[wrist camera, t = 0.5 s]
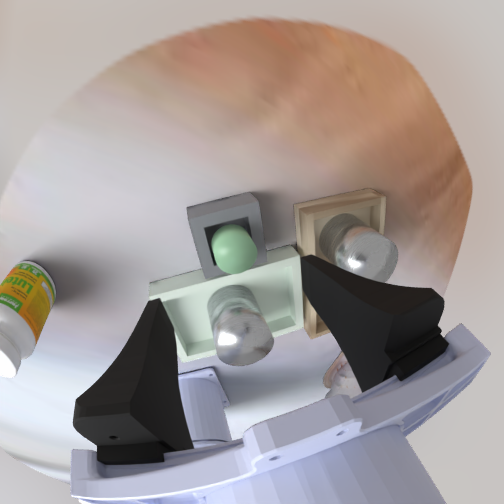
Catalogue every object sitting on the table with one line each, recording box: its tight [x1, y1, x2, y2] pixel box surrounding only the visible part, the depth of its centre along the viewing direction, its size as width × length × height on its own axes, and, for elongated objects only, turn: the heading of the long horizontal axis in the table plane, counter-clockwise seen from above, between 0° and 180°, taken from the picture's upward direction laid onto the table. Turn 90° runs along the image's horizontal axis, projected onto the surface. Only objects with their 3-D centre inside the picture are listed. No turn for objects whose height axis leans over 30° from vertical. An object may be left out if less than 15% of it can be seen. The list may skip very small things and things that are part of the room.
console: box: [187, 192, 268, 279], centre depth 21 cm, size 5×5×2 cm
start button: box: [211, 224, 257, 274], centre depth 19 cm, size 3×3×2 cm
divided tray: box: [294, 188, 386, 339], centre depth 25 cm, size 14×8×2 cm, turn 9°
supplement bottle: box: [0, 261, 56, 378], centre depth 15 cm, size 5×5×10 cm
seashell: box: [323, 351, 362, 399], centre depth 33 cm, size 10×12×9 cm
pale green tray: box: [149, 245, 304, 363], centre depth 25 cm, size 9×13×2 cm
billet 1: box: [207, 285, 274, 366], centre depth 23 cm, size 5×5×6 cm
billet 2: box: [319, 213, 398, 283], centre depth 22 cm, size 5×5×6 cm
